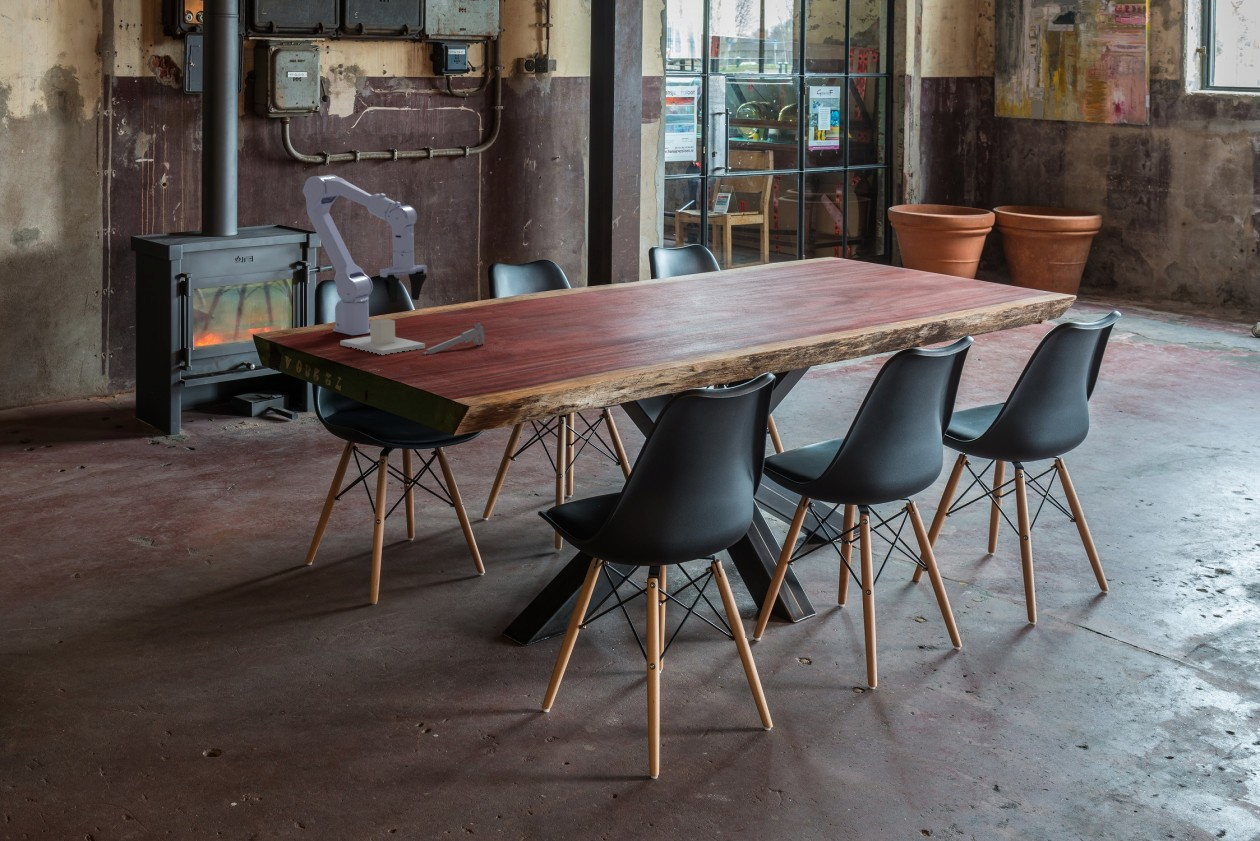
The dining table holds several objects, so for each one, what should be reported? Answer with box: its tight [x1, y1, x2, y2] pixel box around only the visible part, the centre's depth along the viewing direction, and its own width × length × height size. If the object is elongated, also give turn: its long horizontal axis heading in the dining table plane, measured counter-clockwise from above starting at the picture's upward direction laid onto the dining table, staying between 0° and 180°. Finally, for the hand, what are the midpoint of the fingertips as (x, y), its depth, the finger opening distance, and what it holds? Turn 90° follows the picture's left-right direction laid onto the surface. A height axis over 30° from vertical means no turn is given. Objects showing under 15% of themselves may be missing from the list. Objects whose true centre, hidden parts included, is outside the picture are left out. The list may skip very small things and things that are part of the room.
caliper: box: [422, 322, 485, 356], centre depth 367 cm, size 20×1×6 cm, turn 138°
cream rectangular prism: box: [369, 318, 396, 345], centre depth 368 cm, size 5×5×6 cm
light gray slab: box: [339, 335, 426, 356], centre depth 369 cm, size 18×14×6 cm
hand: (404, 301), depth 381 cm, fingers open, 7 cm apart
